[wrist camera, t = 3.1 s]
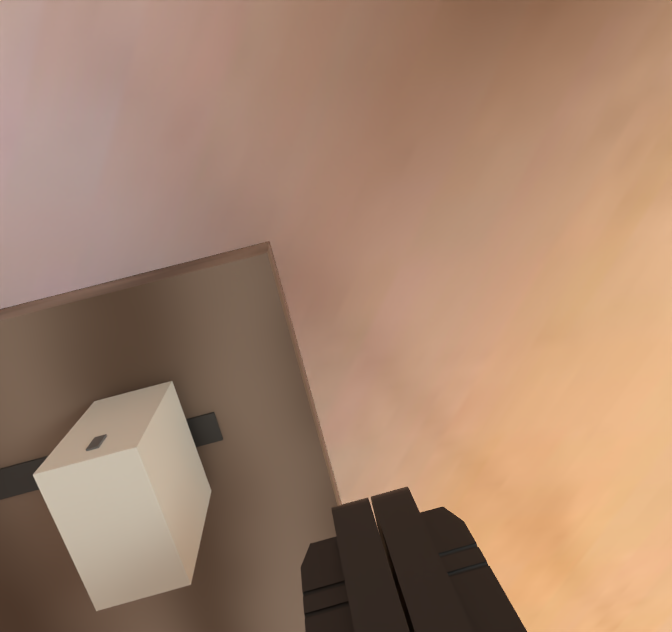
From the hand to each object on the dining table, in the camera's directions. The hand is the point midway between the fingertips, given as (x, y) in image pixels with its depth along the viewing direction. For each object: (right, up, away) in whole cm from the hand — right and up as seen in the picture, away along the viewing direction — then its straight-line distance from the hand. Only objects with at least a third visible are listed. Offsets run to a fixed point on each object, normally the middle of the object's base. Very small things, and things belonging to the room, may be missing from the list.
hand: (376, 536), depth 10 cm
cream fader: (-6, 0, +6) cm, 9 cm away
